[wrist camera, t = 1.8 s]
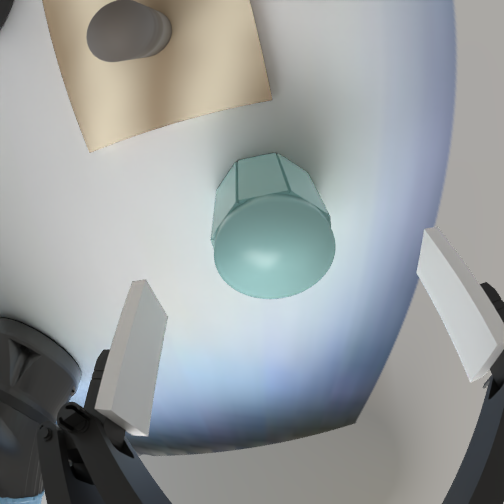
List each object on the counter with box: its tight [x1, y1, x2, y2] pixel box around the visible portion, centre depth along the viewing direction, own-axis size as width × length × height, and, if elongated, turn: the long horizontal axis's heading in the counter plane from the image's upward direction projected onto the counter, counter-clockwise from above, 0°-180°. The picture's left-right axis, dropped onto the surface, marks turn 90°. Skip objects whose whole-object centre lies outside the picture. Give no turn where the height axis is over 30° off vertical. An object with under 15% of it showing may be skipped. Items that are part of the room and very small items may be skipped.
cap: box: [211, 153, 335, 299], centre depth 17 cm, size 6×6×6 cm
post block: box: [42, 0, 272, 153], centre depth 11 cm, size 11×11×5 cm
